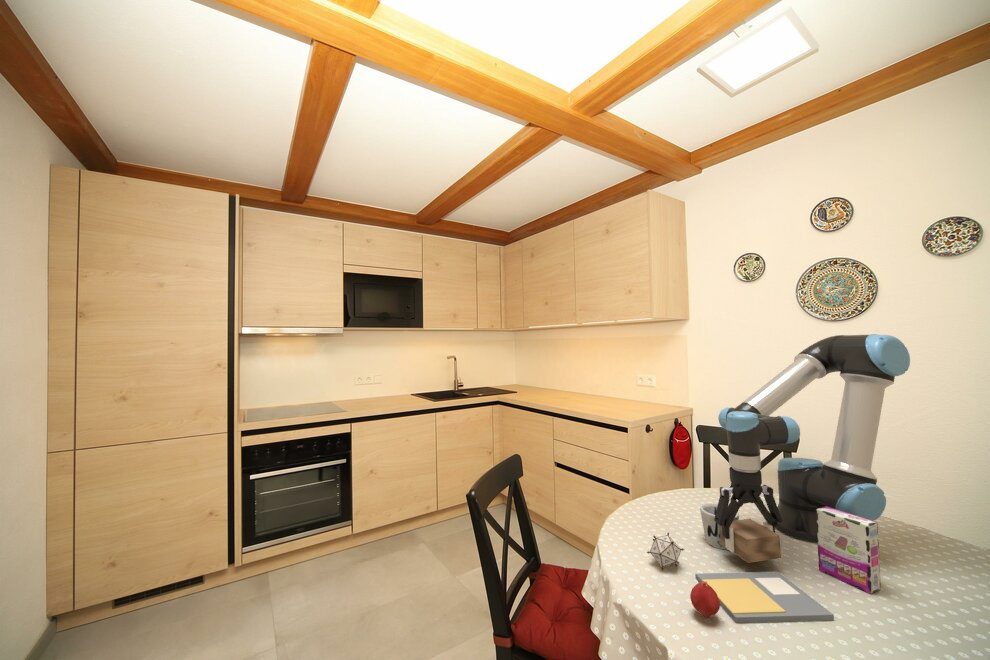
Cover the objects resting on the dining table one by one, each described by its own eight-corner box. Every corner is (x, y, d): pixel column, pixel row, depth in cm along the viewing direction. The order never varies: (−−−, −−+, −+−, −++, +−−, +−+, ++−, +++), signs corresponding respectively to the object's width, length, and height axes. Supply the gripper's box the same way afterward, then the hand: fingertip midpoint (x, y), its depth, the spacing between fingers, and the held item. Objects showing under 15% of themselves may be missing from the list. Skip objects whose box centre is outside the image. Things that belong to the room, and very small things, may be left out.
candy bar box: (882, 589, 95) (879, 522, 96) (871, 595, 93) (868, 526, 94) (828, 565, 105) (826, 505, 106) (817, 570, 103) (815, 508, 104)
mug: (702, 548, 114) (701, 514, 115) (697, 526, 128) (696, 495, 129) (743, 555, 111) (742, 520, 111) (733, 531, 124) (732, 500, 125)
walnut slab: (751, 539, 112) (749, 518, 113) (781, 558, 102) (779, 535, 103) (720, 543, 111) (719, 522, 111) (747, 562, 101) (746, 539, 101)
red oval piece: (685, 608, 89) (684, 573, 89) (709, 607, 89) (708, 571, 89) (701, 627, 83) (700, 589, 83) (726, 625, 83) (725, 587, 84)
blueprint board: (778, 576, 101) (777, 570, 101) (833, 620, 85) (833, 613, 85) (695, 578, 100) (695, 572, 100) (735, 623, 84) (735, 616, 84)
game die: (673, 582, 104) (690, 564, 99) (642, 568, 106) (657, 549, 100) (672, 551, 111) (688, 533, 106) (643, 538, 113) (657, 520, 108)
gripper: (774, 462, 111) (779, 539, 111) (697, 465, 111) (701, 543, 110) (795, 470, 104) (800, 553, 103) (712, 474, 103) (717, 558, 103)
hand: (749, 548), depth 107 cm, fingers closed on walnut slab, 10 cm apart
